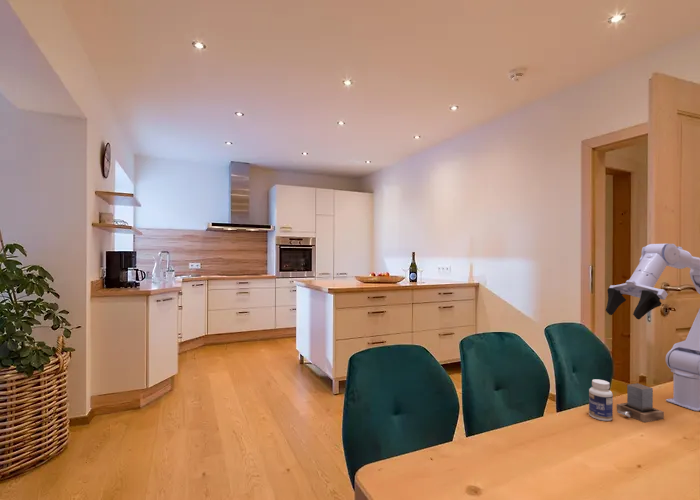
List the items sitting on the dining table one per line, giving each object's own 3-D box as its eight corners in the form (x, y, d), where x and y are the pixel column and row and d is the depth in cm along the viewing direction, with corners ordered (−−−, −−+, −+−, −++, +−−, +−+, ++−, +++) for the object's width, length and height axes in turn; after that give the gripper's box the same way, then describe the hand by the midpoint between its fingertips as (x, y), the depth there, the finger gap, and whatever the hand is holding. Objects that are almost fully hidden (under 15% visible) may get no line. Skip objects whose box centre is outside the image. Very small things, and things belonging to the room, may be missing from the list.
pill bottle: (584, 415, 103) (584, 379, 103) (596, 411, 105) (596, 377, 105) (604, 423, 98) (605, 386, 98) (617, 419, 100) (617, 383, 100)
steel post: (637, 411, 105) (637, 383, 105) (652, 417, 102) (652, 388, 102) (627, 413, 104) (627, 384, 104) (642, 419, 100) (642, 389, 100)
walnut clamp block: (635, 408, 108) (635, 401, 108) (663, 419, 100) (663, 411, 100) (610, 412, 105) (610, 405, 105) (637, 423, 97) (637, 416, 98)
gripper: (612, 267, 111) (589, 302, 108) (665, 269, 97) (641, 309, 94) (625, 282, 113) (603, 317, 110) (679, 286, 99) (656, 326, 96)
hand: (621, 314), depth 102 cm, fingers open, 7 cm apart
